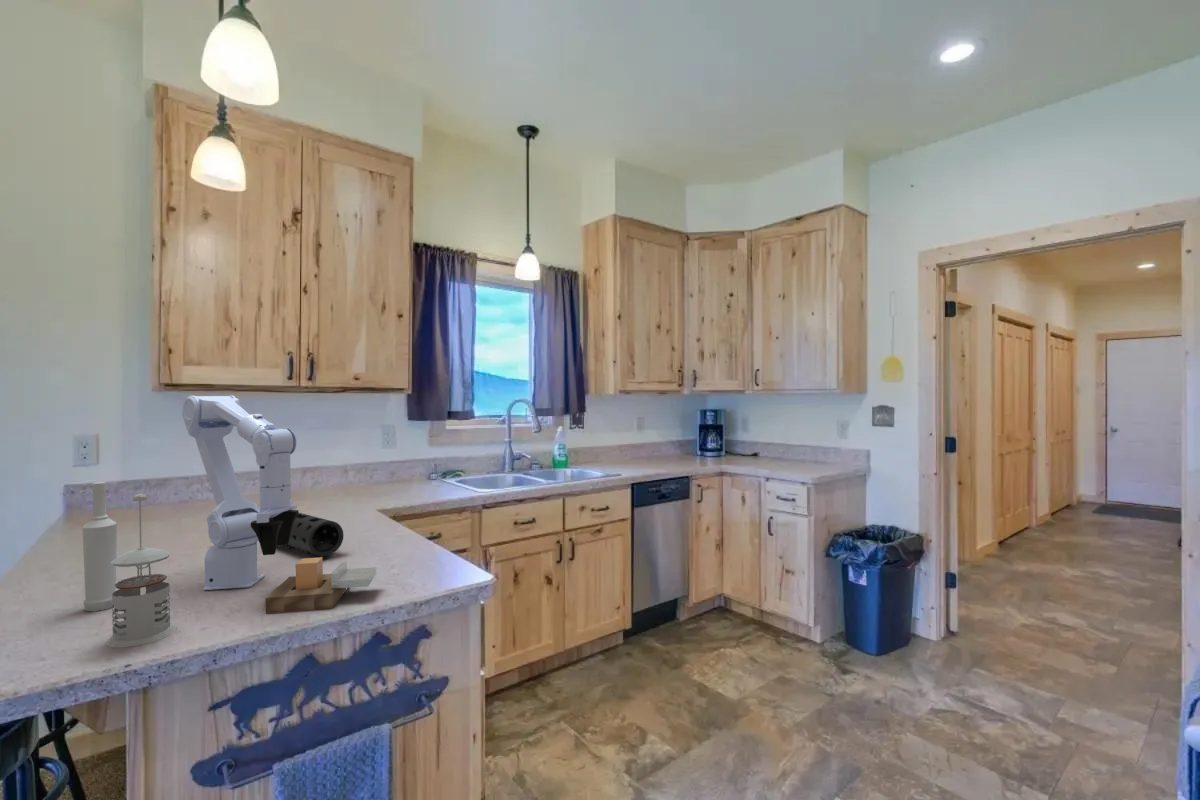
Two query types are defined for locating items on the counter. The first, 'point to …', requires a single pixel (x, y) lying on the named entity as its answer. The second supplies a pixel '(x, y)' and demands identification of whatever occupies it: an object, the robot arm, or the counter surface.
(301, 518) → the muzzle brake
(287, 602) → the socket plate
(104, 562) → the bottle
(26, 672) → the counter surface
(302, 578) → the tan cardboard box
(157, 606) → the french press
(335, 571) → the grey stepped block
